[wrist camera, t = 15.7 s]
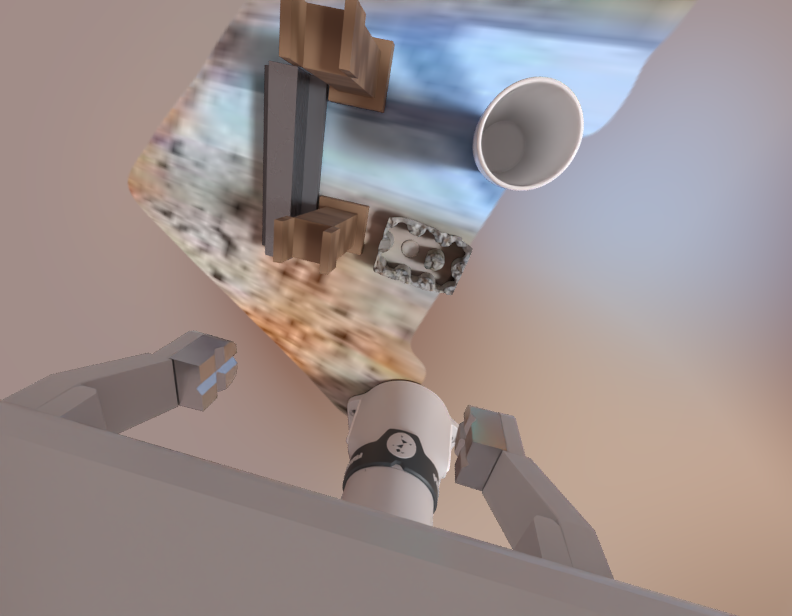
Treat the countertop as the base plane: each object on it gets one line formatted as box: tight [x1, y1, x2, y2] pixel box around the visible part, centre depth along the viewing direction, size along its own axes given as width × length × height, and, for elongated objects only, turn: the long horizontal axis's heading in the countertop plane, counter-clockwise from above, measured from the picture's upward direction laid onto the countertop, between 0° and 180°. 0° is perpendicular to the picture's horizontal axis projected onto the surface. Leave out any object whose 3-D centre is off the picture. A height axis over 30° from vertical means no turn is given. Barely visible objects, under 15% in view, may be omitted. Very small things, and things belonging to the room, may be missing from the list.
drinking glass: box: [473, 77, 584, 191], centre depth 27 cm, size 7×7×15 cm
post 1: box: [279, 0, 394, 113], centre depth 28 cm, size 6×6×12 cm
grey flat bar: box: [262, 65, 328, 246], centre depth 38 cm, size 20×7×1 cm, turn 169°
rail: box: [265, 61, 310, 260], centre depth 37 cm, size 20×3×3 cm, turn 169°
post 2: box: [273, 196, 369, 275], centre depth 35 cm, size 6×6×12 cm
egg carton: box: [373, 217, 472, 295], centre depth 39 cm, size 11×8×4 cm
